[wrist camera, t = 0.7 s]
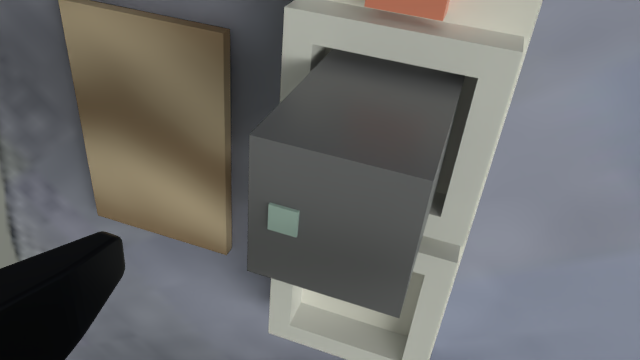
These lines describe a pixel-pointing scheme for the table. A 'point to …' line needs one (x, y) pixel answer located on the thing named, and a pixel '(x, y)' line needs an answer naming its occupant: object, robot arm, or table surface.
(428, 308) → the power strip
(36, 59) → the table surface
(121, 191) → the cork pad
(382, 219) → the block
